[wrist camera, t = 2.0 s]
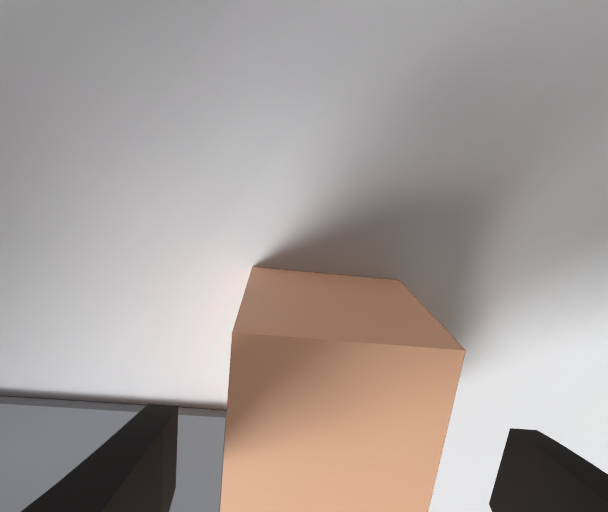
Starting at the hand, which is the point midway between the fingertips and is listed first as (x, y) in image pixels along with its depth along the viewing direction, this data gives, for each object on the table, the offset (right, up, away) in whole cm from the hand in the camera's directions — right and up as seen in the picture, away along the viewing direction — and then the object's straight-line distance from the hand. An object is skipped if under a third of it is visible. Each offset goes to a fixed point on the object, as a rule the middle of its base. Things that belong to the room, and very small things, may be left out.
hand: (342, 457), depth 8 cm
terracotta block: (0, +1, +5) cm, 6 cm away
